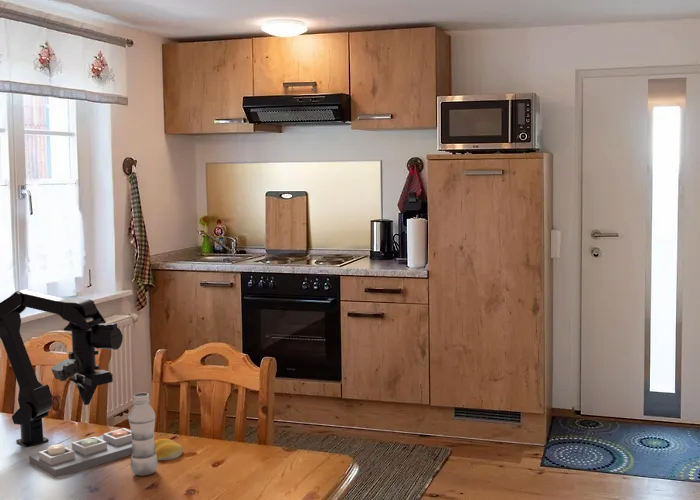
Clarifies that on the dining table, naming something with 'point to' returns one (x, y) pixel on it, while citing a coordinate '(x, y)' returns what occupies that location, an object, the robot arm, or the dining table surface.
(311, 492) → the dining table surface
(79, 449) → the panel
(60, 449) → the cream button
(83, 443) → the sage button
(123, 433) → the terracotta button
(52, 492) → the dining table surface
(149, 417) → the plastic bottle
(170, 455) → the bread roll
